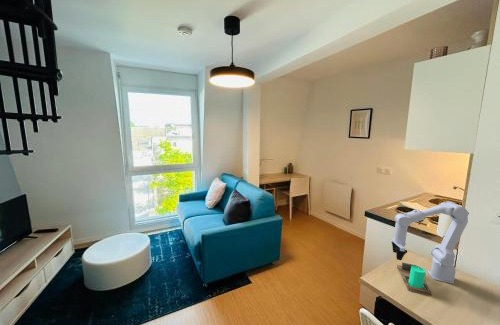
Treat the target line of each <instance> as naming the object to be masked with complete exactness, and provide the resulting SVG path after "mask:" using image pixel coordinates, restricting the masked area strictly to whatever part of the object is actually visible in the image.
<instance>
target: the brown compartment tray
mask: <svg viewBox="0 0 500 325" xmlns="http://www.w3.org/2000/svg"><path fill="white" fill-rule="evenodd" d="M412 265H413V266H417V264H411V263H406V262H403V261H402V262H401V264H397V265H396V269H397V270H398V272H399V274H400V276H401V278H402V281H403V283H404V285H405V287H406V289H407V291H409V292H414V293H417V294H422V295H427V296H430V297H432V295H433V293H432V291H431V289H430V287H429V286H428V284H427V283H426V281H425V280H424V284H423V289H421V288H417V287H413V286H409V281H408V280H409V278H410V271H411V266H412Z"/></svg>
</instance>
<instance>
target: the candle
mask: <svg viewBox="0 0 500 325" xmlns="http://www.w3.org/2000/svg"><path fill="white" fill-rule="evenodd" d="M413 265H414V264H412V266H411V271H410V278H409V279H408V284H409V286H413V287H417V288H421V289H424V286H423V284H424V281H425V278H426V272H427V271H426V270H425V269H424V268H422V267H420V266H419V265H416V266H413Z"/></svg>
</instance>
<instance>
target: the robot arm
mask: <svg viewBox="0 0 500 325" xmlns="http://www.w3.org/2000/svg"><path fill="white" fill-rule="evenodd" d="M441 214H443V215H446V216H449V217H450V218H451V220H452V221H451V223H450V224H449V227H448V229H447V230H446V233H445V234H444V236H443V239H442V240H441V242H440V243H439V244H436V245H435V247H433V248H432V249H431V251H430V255H431V256H432V261H431V268H430V269H427V271H426V272H428V274H429V275H430V276H431V279H433V280H435V281H440V282H445V283H449V284H455V282H454V281H455V276H456V268H455V266H454V264H455V258H456V255H455V252H454V250H455V248H456V245H457V244H458V242H459V240H460V239H461V237H462V235H463V232H464V230H465V229H466V227H467V225H468V223H469V220H468V219H469V214H470V212H469V210H467V208H465V207H464V206H461V205H460V204H457V203H455V202H453V201H452V200H451V201H450V200H447V201H445V202H444V201H443V202H440V203H439V204H437V205H435V206H432V207H429V208H426V209H423V210H419V209H413V210H412V211H408V212H404V213H397V214H395V216H394V217H393V219H394V221H395V224H394V226H395V227H394V232H393V237H392V239H390V242H391V245H392V246H391V247H392V252H393V253H396V254H395V255H396V260H397V261H402V260H403V258H404V256H405V255H406V254H407V253H408V250H407V249H406V248H405V247H406V245H407V244H406V241H407V234H408V233H407V232H408V227H410V225H412V224H413V223H416V222H420V221H423V220H425V218H427V217H431V216H436V215H441Z"/></svg>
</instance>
